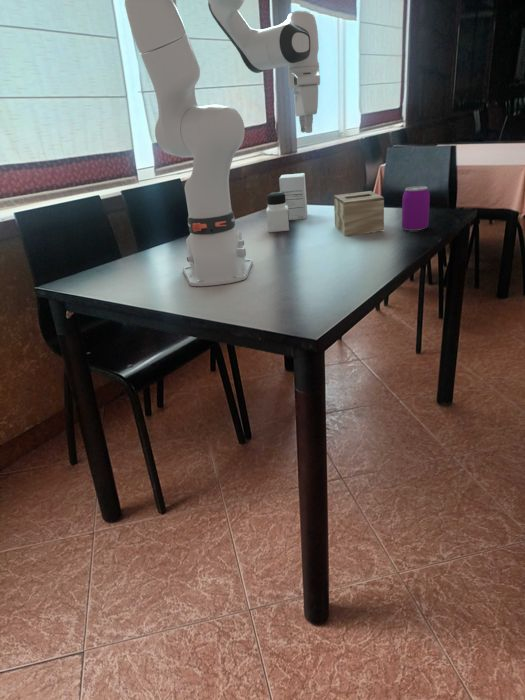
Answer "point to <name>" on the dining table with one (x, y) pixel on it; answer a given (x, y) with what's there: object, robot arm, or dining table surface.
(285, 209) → the medicine bottle
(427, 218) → the beverage can
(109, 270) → the dining table surface
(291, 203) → the supplement box
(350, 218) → the coin box
